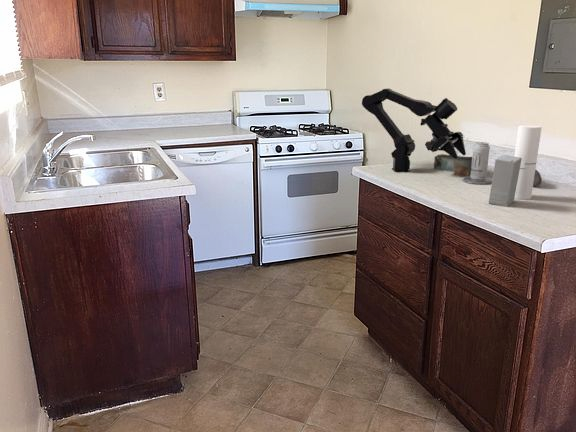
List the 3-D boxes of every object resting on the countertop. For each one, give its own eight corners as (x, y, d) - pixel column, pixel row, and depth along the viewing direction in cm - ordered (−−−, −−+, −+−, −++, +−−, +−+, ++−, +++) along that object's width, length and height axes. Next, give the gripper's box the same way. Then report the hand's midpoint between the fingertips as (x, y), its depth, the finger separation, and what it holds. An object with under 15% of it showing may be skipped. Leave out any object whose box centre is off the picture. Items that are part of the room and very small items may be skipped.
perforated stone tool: (545, 189, 183) (548, 171, 181) (531, 189, 183) (534, 171, 181) (525, 179, 198) (528, 163, 196) (512, 180, 198) (515, 163, 195)
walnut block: (459, 176, 204) (460, 167, 203) (453, 174, 208) (454, 165, 207) (467, 175, 205) (468, 166, 204) (461, 174, 209) (462, 164, 208)
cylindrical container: (533, 200, 169) (544, 127, 161) (511, 199, 170) (521, 127, 162) (528, 194, 175) (538, 125, 168) (507, 193, 177) (516, 124, 169)
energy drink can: (466, 179, 195) (470, 142, 191) (474, 177, 199) (478, 141, 194) (480, 182, 191) (485, 144, 186) (488, 180, 195) (493, 143, 190)
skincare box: (495, 198, 171) (500, 154, 166) (516, 202, 166) (523, 156, 162) (487, 203, 165) (492, 157, 160) (509, 207, 160) (515, 160, 155)
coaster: (469, 185, 190) (469, 183, 190) (458, 178, 200) (458, 177, 200) (497, 184, 190) (497, 182, 190) (484, 178, 201) (484, 176, 201)
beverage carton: (440, 166, 225) (441, 152, 223) (481, 171, 213) (483, 157, 212) (432, 169, 219) (434, 154, 217) (475, 175, 208) (477, 159, 206)
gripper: (432, 136, 212) (454, 164, 209) (413, 141, 199) (436, 172, 195) (452, 120, 205) (474, 148, 202) (434, 124, 191) (458, 155, 188)
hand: (460, 156), depth 197 cm, fingers open, 9 cm apart
